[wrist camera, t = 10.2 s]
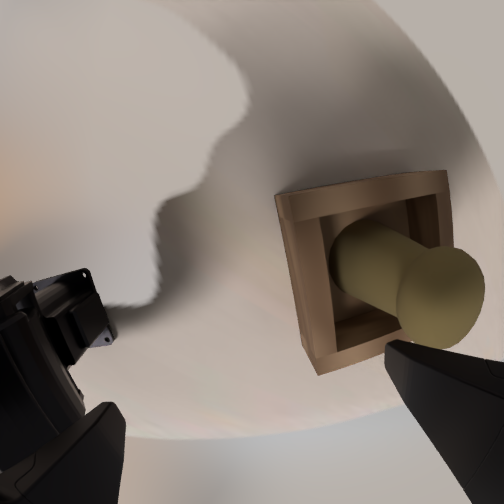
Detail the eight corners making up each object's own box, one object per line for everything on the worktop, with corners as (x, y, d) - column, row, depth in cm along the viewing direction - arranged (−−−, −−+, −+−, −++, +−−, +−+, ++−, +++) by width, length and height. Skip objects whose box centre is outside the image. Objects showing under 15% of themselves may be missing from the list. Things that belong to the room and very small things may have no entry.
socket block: (302, 344, 22) (318, 375, 18) (274, 195, 20) (288, 195, 15) (421, 303, 23) (450, 322, 18) (411, 172, 20) (446, 169, 16)
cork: (393, 291, 22) (484, 350, 11) (327, 300, 21) (404, 383, 10) (397, 218, 20) (506, 241, 10) (328, 220, 20) (427, 249, 9)
